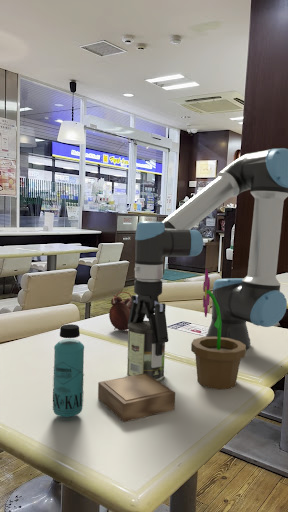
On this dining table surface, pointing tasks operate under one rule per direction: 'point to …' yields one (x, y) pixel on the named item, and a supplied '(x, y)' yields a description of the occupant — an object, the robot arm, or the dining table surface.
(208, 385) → the flowerpot
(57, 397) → the beverage bottle
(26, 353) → the dining table surface
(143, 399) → the walnut base
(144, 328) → the coffee can
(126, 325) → the alarm clock
